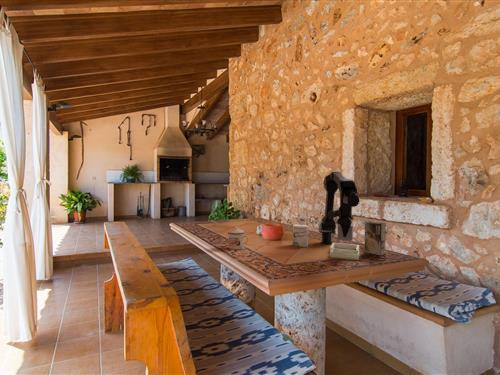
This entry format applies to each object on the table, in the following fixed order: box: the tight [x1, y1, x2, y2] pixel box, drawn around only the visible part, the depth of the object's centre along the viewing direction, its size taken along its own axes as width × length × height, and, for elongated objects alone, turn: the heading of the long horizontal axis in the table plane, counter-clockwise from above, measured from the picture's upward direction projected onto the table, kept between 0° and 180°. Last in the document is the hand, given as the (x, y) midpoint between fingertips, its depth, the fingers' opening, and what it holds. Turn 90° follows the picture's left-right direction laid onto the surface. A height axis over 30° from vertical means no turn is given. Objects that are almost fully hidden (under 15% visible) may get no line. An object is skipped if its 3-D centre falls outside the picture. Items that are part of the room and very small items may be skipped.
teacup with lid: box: [227, 226, 250, 250], centre depth 175 cm, size 12×9×12 cm
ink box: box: [292, 223, 309, 248], centre depth 183 cm, size 8×5×12 cm, turn 76°
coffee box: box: [364, 221, 387, 256], centre depth 167 cm, size 9×6×16 cm
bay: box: [329, 242, 360, 252], centre depth 171 cm, size 14×14×2 cm
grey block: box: [336, 223, 354, 242], centre depth 159 cm, size 5×7×7 cm
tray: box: [329, 248, 361, 261], centre depth 159 cm, size 10×14×2 cm
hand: (345, 236), depth 159 cm, fingers closed on grey block, 5 cm apart
